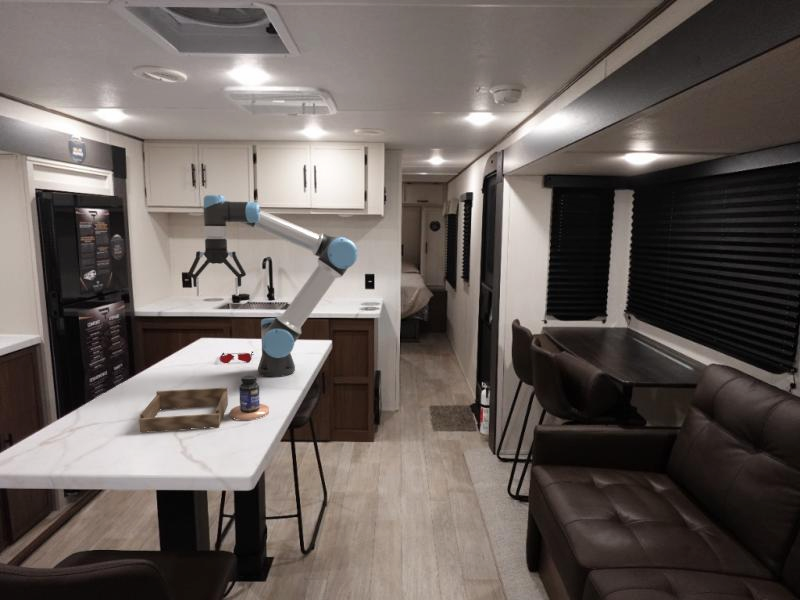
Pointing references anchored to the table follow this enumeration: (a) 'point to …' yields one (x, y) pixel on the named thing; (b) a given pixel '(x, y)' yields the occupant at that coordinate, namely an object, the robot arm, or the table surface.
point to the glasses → (229, 356)
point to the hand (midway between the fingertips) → (218, 295)
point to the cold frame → (184, 400)
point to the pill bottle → (249, 394)
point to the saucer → (241, 415)
